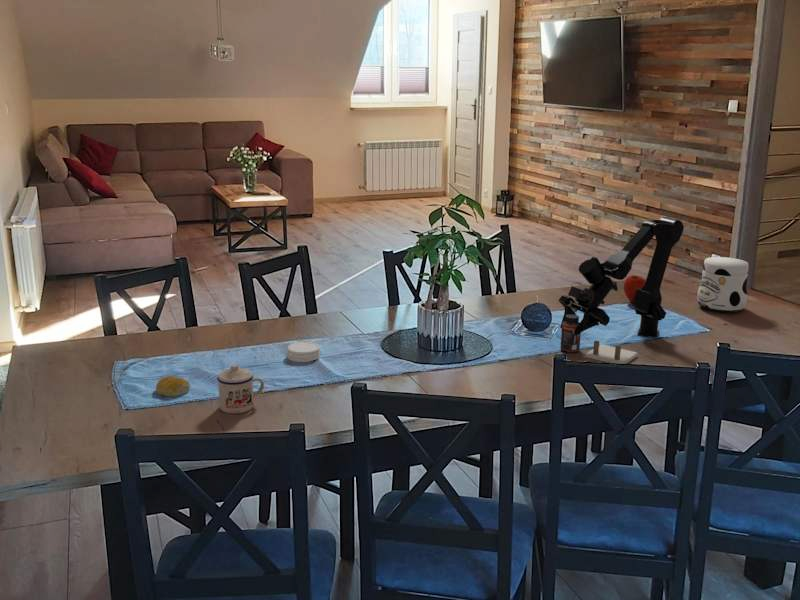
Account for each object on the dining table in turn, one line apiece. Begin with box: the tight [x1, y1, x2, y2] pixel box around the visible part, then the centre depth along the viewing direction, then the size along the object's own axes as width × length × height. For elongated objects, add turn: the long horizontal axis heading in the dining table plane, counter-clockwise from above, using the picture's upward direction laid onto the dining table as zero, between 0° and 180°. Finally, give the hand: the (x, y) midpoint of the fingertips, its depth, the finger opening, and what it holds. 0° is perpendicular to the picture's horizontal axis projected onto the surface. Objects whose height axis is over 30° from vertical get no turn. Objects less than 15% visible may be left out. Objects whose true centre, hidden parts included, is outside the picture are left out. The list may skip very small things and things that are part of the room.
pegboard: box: [585, 340, 638, 364], centre depth 249 cm, size 11×12×5 cm
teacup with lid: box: [216, 364, 265, 415], centre depth 209 cm, size 12×9×12 cm
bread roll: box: [155, 375, 191, 398], centre depth 220 cm, size 8×9×4 cm
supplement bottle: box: [560, 314, 582, 353], centre depth 253 cm, size 6×6×11 cm
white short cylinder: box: [286, 341, 321, 363], centre depth 246 cm, size 10×10×4 cm
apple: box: [623, 274, 646, 304], centre depth 304 cm, size 9×8×11 cm
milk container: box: [696, 256, 750, 313], centre depth 297 cm, size 17×17×18 cm
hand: (567, 330), depth 252 cm, fingers closed on supplement bottle, 6 cm apart
